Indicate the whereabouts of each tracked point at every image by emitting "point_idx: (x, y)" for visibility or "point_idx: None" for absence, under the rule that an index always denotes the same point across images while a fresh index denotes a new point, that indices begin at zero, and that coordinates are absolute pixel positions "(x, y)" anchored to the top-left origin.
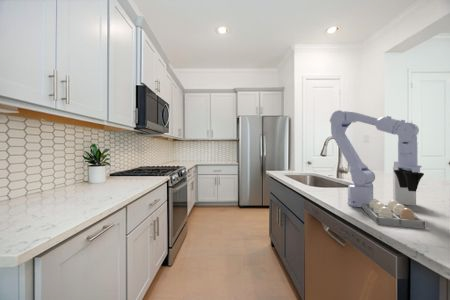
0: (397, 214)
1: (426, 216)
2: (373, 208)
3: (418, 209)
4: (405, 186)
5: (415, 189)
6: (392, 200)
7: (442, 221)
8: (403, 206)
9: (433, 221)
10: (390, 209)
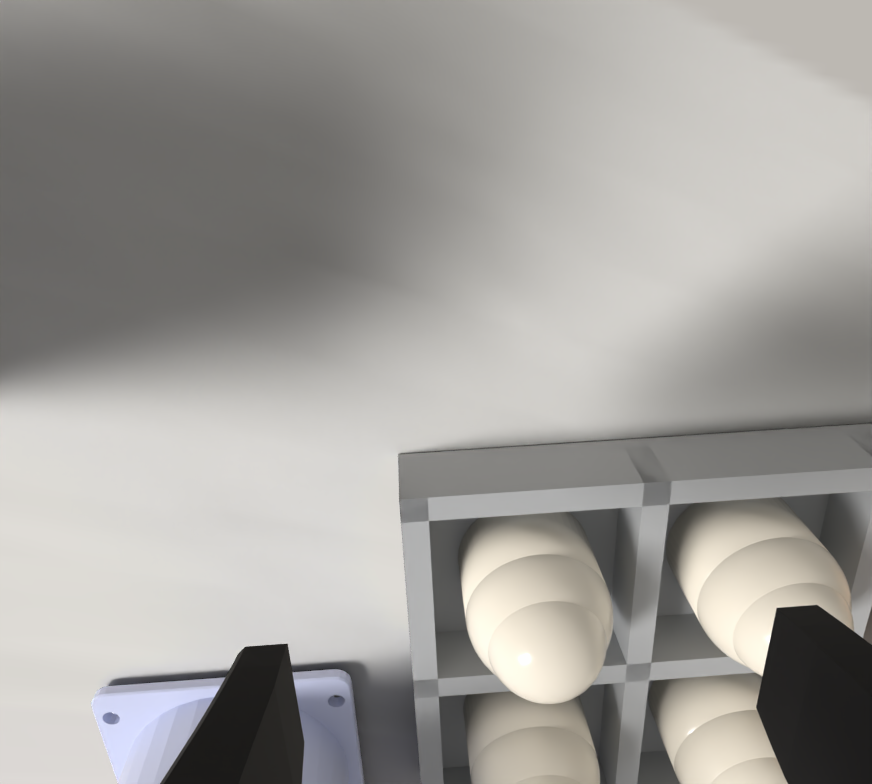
0: (866, 622)
1: (542, 206)
2: (637, 772)
3: (92, 160)
4: (286, 696)
5: (849, 649)
6: (572, 694)
7: (762, 90)
8: (851, 620)
9: (784, 215)
10: (643, 642)
